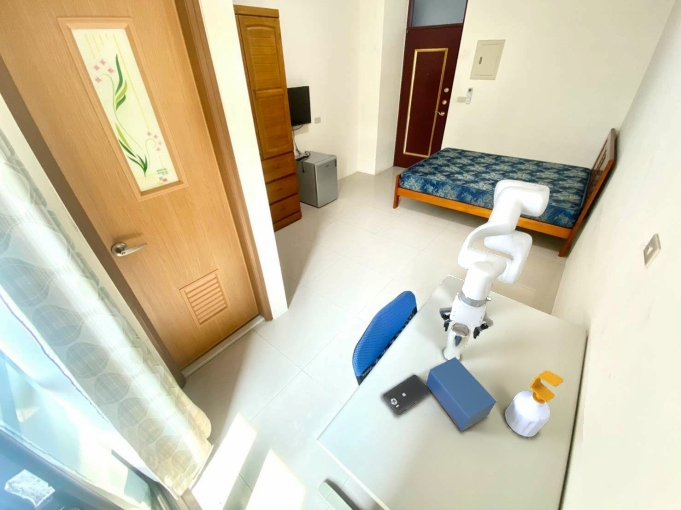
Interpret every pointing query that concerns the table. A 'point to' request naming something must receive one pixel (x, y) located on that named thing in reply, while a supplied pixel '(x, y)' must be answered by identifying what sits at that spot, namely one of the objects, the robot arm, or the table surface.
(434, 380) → the blue rectangular box
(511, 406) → the soap bottle
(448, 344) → the beer glass
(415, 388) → the smartphone
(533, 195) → the robot arm
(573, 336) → the table surface
